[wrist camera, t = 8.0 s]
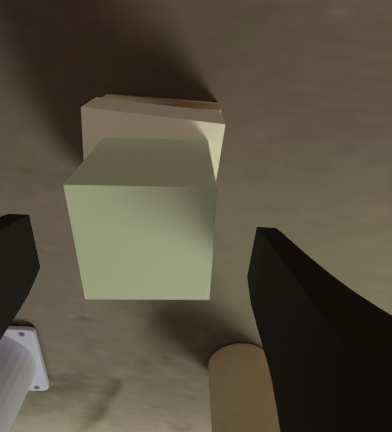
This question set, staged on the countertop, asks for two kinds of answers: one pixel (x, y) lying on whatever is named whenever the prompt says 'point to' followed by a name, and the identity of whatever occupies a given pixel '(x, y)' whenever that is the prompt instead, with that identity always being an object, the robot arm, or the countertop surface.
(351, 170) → the countertop surface
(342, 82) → the countertop surface
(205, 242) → the sage block
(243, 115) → the countertop surface
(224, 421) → the candle
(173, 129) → the tower top
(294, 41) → the countertop surface
